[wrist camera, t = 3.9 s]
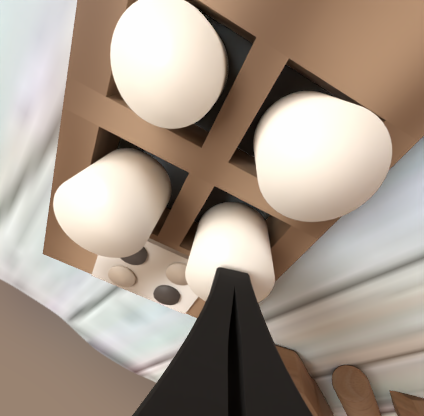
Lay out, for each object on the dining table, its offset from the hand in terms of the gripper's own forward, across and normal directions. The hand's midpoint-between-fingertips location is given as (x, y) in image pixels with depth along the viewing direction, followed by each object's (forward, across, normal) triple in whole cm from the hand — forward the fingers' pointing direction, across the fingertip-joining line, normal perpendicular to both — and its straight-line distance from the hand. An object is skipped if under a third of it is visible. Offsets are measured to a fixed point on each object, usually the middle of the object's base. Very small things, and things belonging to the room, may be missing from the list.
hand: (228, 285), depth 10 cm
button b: (+4, +6, -2) cm, 7 cm away
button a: (+6, +4, -7) cm, 10 cm away
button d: (+4, 0, 0) cm, 4 cm away
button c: (+4, -2, -6) cm, 7 cm away
